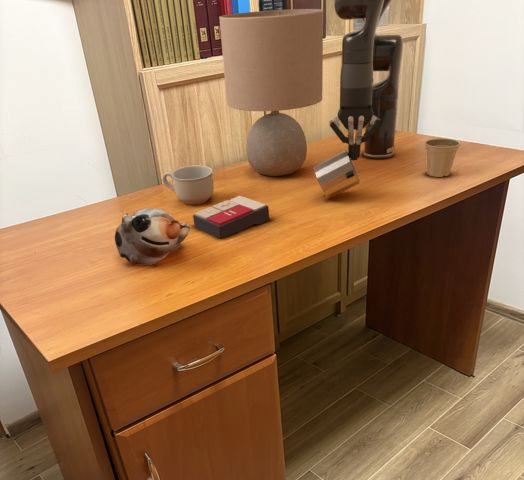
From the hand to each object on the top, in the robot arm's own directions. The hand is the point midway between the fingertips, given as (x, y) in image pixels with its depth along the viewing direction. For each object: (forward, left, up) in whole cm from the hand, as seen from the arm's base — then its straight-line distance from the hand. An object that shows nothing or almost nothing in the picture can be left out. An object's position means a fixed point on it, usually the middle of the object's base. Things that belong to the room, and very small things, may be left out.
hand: (353, 159), depth 136 cm
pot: (0, -2, -8) cm, 8 cm away
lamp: (-25, -20, -10) cm, 34 cm away
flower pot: (-16, +26, -10) cm, 32 cm away
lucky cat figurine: (+33, -45, -10) cm, 57 cm away
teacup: (-2, -43, -10) cm, 44 cm away
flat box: (+16, -30, -10) cm, 36 cm away
